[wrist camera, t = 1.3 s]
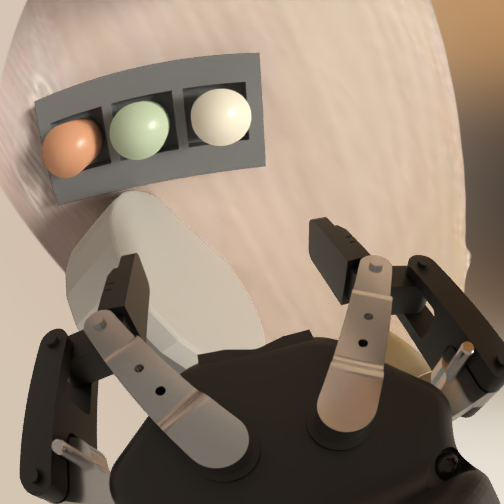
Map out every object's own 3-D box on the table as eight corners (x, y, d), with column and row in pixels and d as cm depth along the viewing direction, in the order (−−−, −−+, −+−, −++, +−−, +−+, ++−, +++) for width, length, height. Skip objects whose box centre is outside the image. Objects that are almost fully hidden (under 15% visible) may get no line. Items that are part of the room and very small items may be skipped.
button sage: (117, 106, 22) (105, 110, 19) (167, 96, 23) (163, 96, 19) (125, 154, 25) (115, 165, 21) (173, 144, 26) (171, 153, 22)
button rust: (56, 125, 21) (37, 133, 18) (98, 112, 22) (83, 116, 18) (66, 170, 24) (49, 184, 20) (107, 158, 25) (94, 170, 21)
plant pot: (401, 304, 53) (443, 359, 40) (400, 340, 61) (432, 388, 48) (340, 338, 53) (375, 402, 40) (348, 369, 62) (375, 422, 49)
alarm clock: (91, 215, 30) (29, 344, 14) (131, 171, 29) (73, 284, 12) (208, 308, 42) (230, 433, 25) (247, 279, 40) (290, 405, 24)
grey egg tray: (46, 99, 21) (34, 101, 19) (252, 56, 25) (259, 52, 22) (67, 195, 28) (58, 205, 25) (258, 159, 31) (265, 166, 29)
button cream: (188, 92, 23) (188, 92, 20) (239, 87, 24) (249, 86, 20) (193, 140, 26) (194, 149, 23) (243, 134, 27) (253, 142, 23)
